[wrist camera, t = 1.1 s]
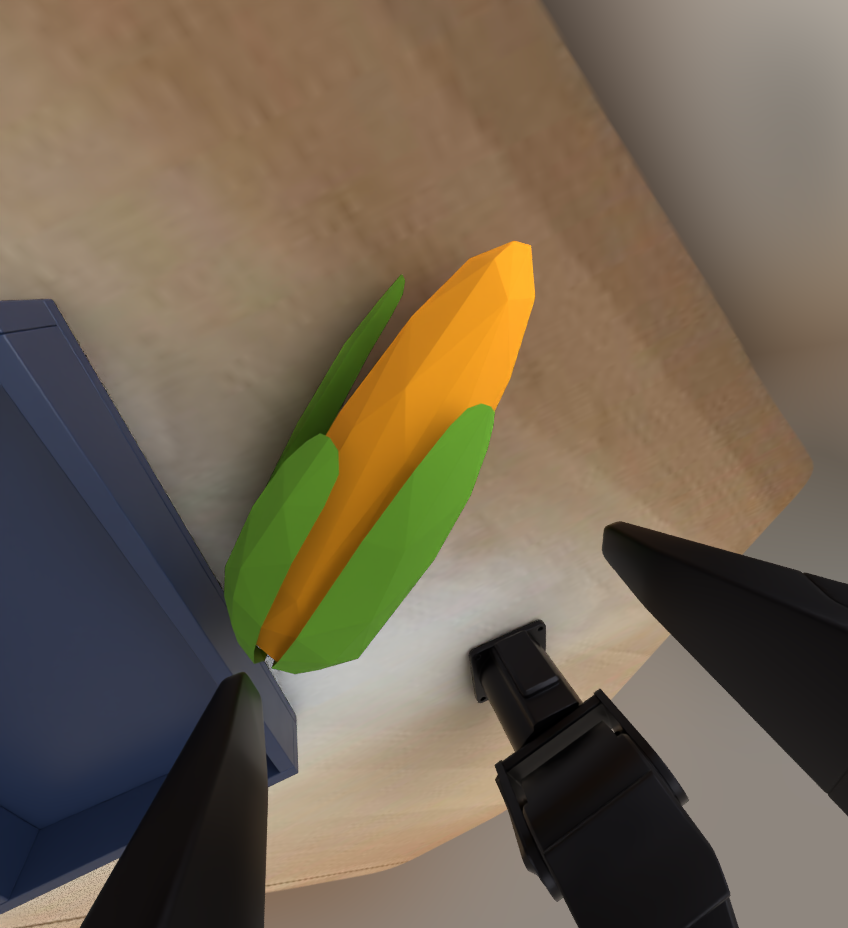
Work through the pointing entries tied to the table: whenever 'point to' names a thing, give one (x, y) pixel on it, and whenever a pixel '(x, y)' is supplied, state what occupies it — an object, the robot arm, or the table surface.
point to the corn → (378, 469)
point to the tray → (94, 620)
